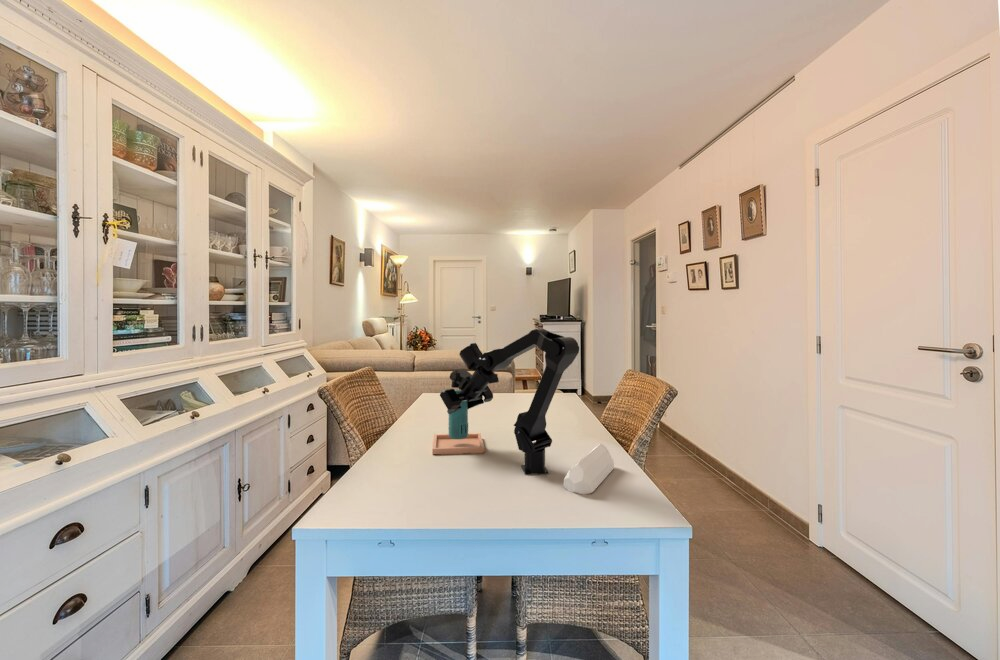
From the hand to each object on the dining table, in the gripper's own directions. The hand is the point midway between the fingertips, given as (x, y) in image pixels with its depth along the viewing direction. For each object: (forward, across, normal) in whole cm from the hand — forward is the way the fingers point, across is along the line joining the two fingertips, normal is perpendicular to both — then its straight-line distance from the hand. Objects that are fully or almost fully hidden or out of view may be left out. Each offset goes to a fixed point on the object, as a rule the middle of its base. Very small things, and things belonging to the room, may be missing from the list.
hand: (455, 411), depth 144 cm
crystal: (-25, -6, +42) cm, 49 cm away
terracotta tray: (+7, 0, +9) cm, 11 cm away
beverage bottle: (+6, 0, +8) cm, 10 cm away
